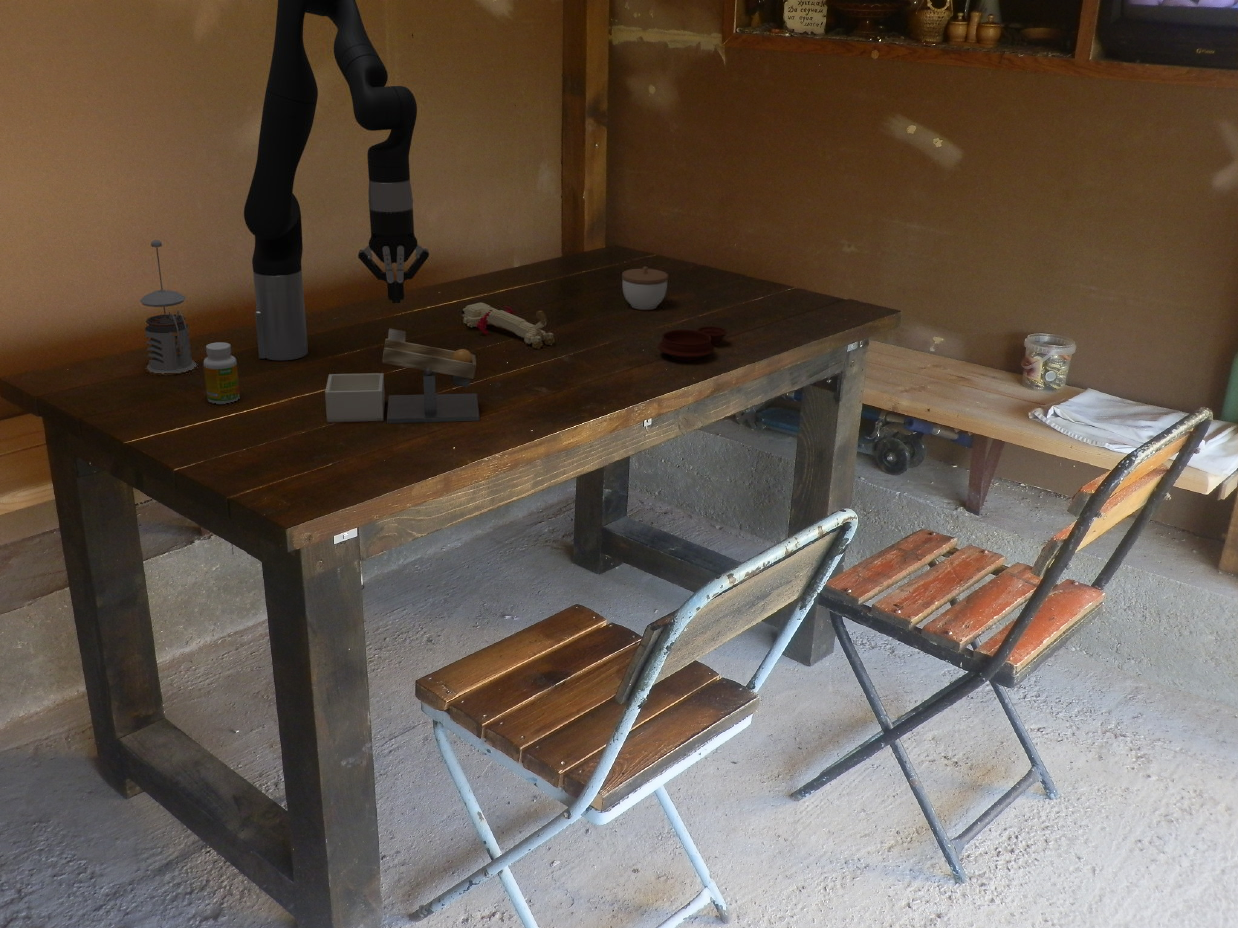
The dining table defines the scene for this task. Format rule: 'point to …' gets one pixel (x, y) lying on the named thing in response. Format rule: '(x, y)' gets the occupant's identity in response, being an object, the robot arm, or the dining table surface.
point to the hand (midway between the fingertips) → (396, 302)
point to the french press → (167, 332)
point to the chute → (427, 358)
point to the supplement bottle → (221, 374)
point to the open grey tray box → (355, 397)
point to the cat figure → (508, 323)
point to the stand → (432, 406)
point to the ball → (462, 356)
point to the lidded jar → (644, 287)
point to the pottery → (691, 342)
